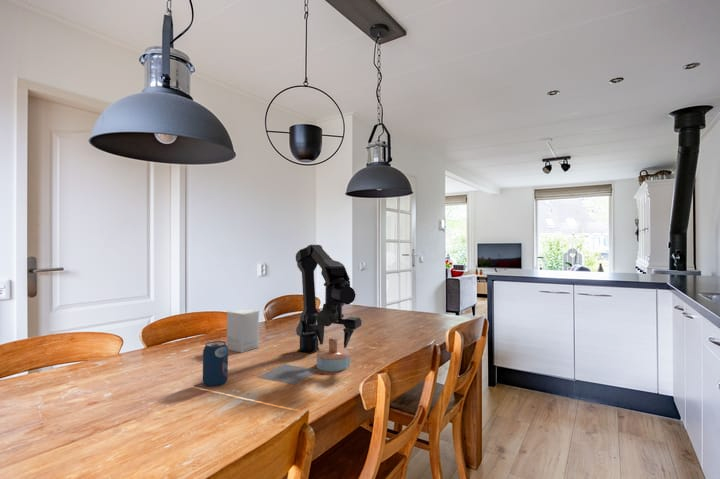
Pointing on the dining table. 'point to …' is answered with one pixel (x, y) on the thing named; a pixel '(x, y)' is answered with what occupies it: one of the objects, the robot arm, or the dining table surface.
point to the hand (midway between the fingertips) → (333, 346)
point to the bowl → (333, 364)
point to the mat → (288, 374)
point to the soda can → (215, 363)
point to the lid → (332, 351)
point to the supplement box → (242, 330)
